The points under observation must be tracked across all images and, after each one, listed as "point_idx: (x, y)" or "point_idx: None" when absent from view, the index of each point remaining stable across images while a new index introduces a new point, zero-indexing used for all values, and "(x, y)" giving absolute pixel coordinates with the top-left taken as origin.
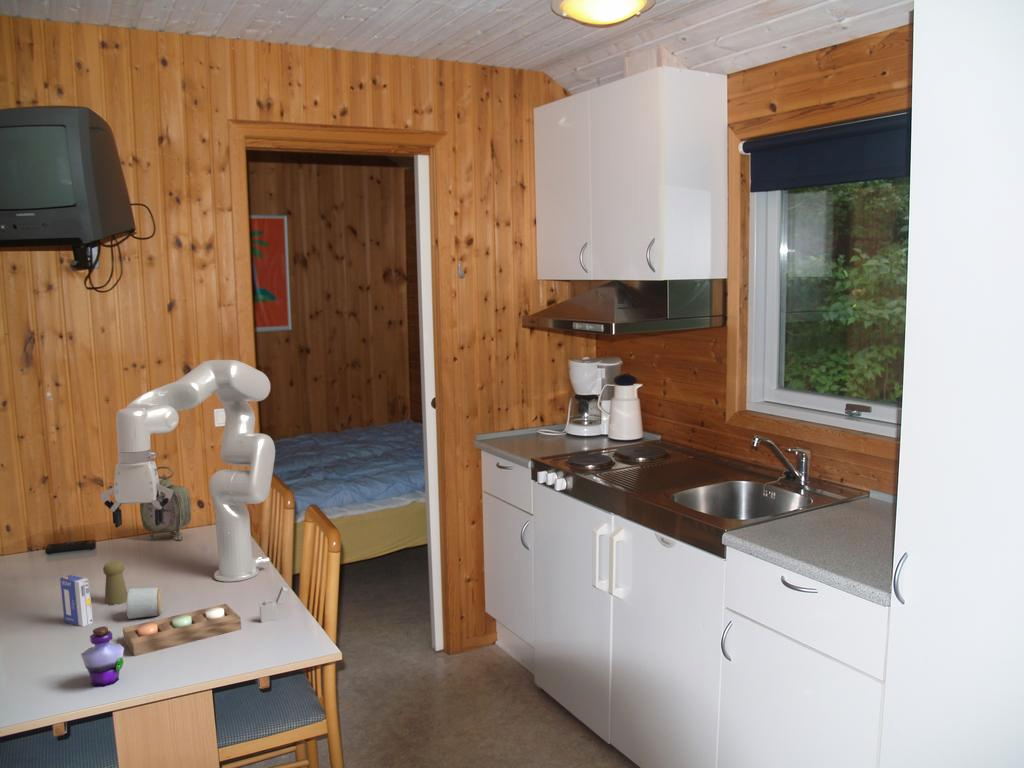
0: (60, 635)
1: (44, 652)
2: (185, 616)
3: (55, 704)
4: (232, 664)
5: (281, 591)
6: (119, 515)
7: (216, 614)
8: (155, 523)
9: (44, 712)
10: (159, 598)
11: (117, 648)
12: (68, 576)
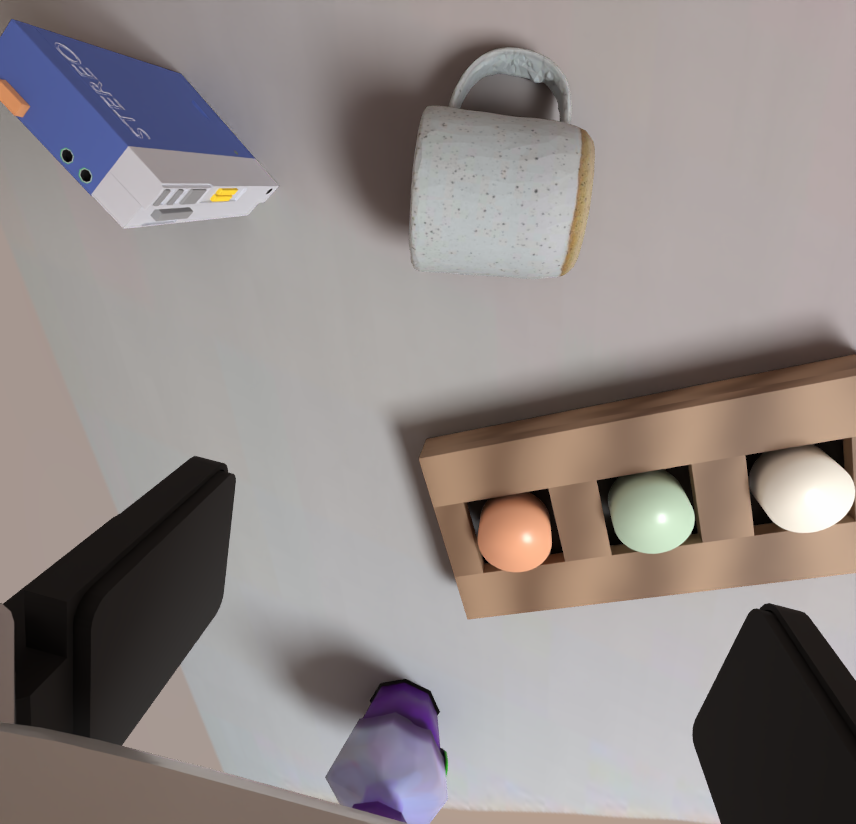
0: (186, 284)
1: (180, 429)
2: (671, 503)
3: (307, 760)
4: None
5: None
6: (145, 647)
7: (805, 531)
8: (697, 753)
9: (292, 782)
10: (574, 263)
11: (428, 804)
12: (15, 56)
